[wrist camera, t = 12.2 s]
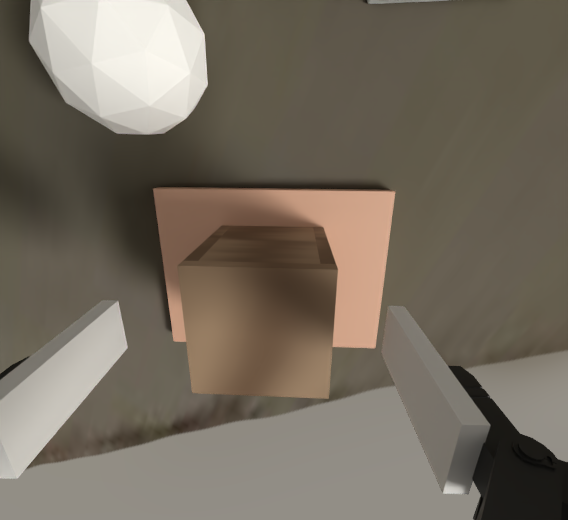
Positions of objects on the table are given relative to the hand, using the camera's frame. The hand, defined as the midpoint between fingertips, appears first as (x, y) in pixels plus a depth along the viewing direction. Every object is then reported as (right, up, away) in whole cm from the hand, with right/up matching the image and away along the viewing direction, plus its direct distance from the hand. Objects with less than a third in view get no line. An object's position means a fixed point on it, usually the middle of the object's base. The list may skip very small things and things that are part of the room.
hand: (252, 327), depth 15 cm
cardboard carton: (+1, +2, +7) cm, 7 cm away
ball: (-6, +15, +4) cm, 17 cm away
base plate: (+1, +3, +8) cm, 8 cm away
